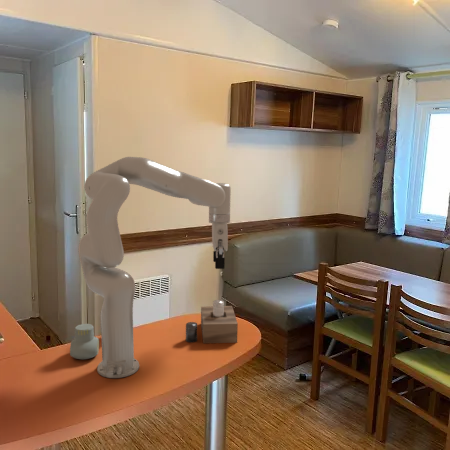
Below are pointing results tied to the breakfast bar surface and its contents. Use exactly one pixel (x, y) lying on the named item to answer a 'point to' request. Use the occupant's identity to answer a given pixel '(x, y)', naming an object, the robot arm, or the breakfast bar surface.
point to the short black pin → (191, 332)
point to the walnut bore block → (218, 326)
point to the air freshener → (84, 342)
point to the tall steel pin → (218, 308)
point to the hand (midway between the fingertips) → (218, 265)
